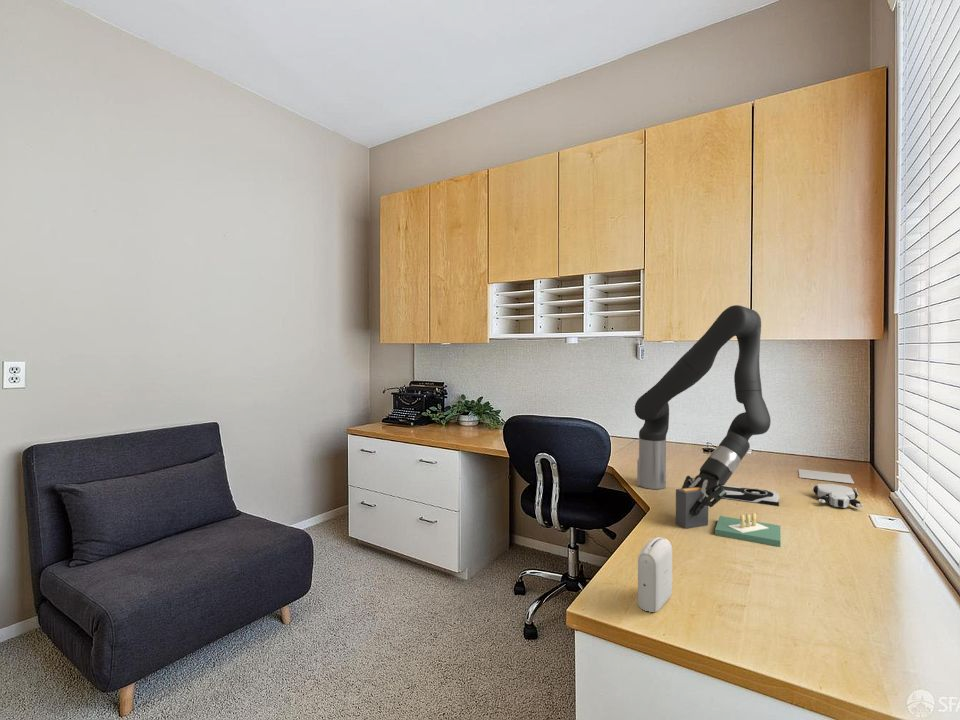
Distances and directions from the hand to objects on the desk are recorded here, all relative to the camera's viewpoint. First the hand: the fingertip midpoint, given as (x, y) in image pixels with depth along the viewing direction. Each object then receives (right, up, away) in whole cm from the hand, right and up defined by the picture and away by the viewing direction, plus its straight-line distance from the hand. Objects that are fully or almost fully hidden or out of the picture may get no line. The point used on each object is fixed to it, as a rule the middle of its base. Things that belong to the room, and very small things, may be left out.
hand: (686, 511), depth 138 cm
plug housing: (+2, -4, +1) cm, 4 cm away
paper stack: (+67, -2, +46) cm, 82 cm away
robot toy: (+56, -3, +18) cm, 59 cm away
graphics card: (+27, -4, +25) cm, 37 cm away
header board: (+14, -4, -6) cm, 16 cm away
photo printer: (-23, -6, -40) cm, 47 cm away
